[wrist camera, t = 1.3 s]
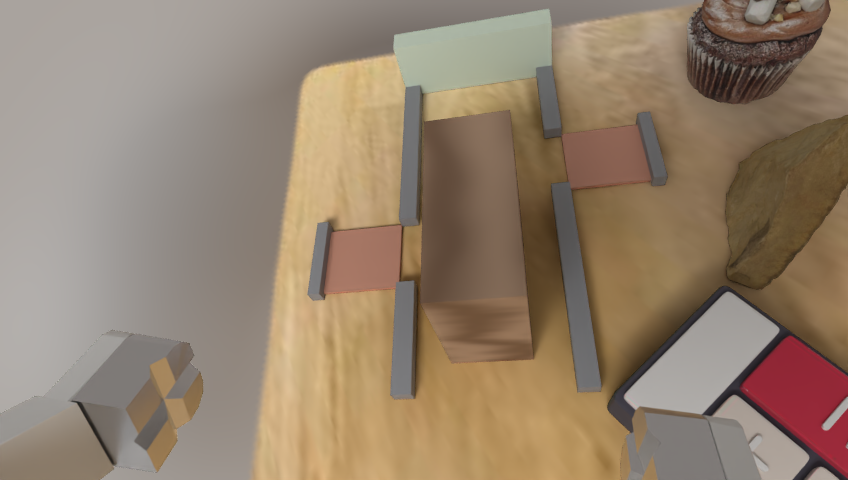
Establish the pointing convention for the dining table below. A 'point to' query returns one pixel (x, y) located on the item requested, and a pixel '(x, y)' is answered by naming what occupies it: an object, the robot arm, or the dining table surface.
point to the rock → (784, 199)
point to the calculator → (750, 388)
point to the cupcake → (750, 45)
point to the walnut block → (474, 240)
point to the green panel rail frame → (381, 247)
